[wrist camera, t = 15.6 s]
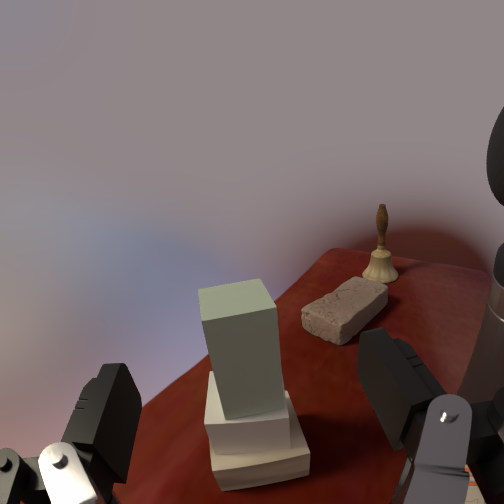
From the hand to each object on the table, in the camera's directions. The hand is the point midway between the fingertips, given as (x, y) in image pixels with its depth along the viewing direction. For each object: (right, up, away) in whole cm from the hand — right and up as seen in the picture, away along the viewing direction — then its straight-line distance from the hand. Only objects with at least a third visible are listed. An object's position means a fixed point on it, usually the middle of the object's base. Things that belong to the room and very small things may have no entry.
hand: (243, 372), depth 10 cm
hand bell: (+29, -1, +56) cm, 63 cm away
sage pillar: (0, -9, +16) cm, 18 cm away
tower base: (+1, -18, +19) cm, 26 cm away
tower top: (0, -13, +18) cm, 22 cm away
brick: (+17, -8, +43) cm, 47 cm away
